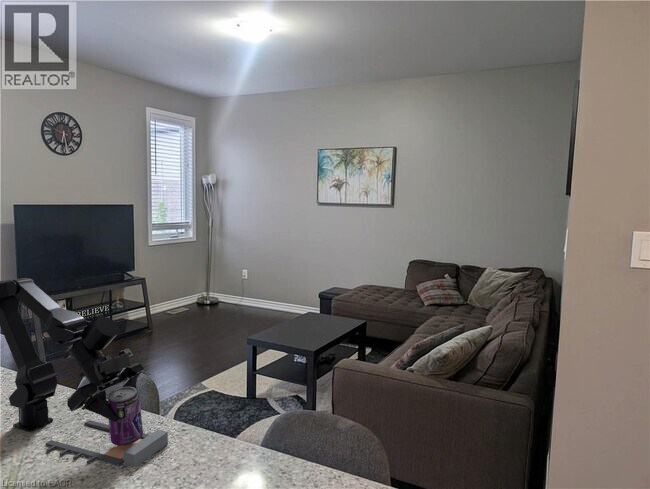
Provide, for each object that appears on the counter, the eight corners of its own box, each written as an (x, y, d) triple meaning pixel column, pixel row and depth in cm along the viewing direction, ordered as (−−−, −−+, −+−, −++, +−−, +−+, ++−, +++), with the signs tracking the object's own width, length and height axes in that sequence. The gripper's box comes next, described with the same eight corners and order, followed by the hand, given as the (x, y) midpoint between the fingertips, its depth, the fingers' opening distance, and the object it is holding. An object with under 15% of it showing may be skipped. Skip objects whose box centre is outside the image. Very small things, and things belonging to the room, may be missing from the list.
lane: (38, 449, 106) (37, 437, 106) (89, 422, 120) (89, 411, 119) (125, 474, 98) (125, 461, 97) (169, 442, 111) (169, 430, 111)
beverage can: (131, 450, 105) (126, 403, 103) (104, 446, 107) (98, 399, 104) (149, 432, 112) (145, 387, 109) (123, 428, 113) (119, 384, 111)
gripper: (76, 353, 98) (116, 412, 96) (138, 331, 116) (174, 380, 113) (49, 382, 102) (88, 440, 99) (114, 357, 119) (148, 405, 117)
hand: (128, 414), depth 107 cm, fingers closed on beverage can, 7 cm apart
